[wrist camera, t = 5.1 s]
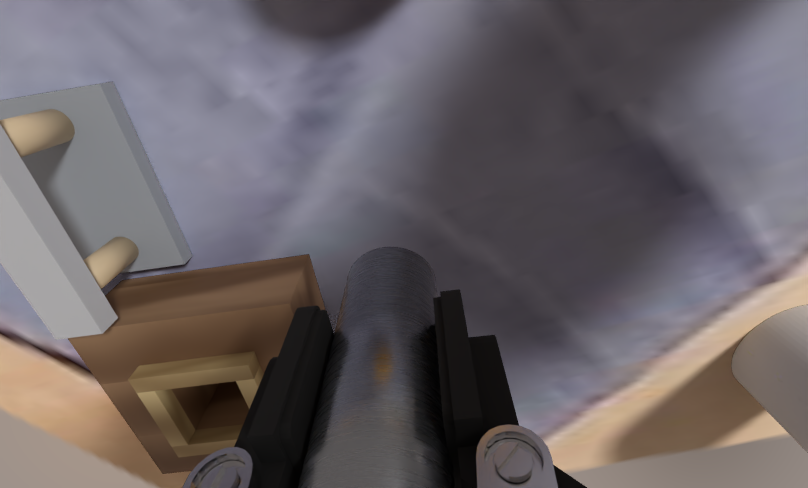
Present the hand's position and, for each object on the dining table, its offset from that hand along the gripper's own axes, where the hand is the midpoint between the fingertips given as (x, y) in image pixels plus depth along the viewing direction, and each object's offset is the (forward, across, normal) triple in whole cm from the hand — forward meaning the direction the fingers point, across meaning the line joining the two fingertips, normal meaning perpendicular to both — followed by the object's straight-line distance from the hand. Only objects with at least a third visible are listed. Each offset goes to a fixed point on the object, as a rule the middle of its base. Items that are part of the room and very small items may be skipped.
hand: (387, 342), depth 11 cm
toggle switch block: (+12, +12, +10) cm, 20 cm away
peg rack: (+12, +16, -2) cm, 21 cm away
